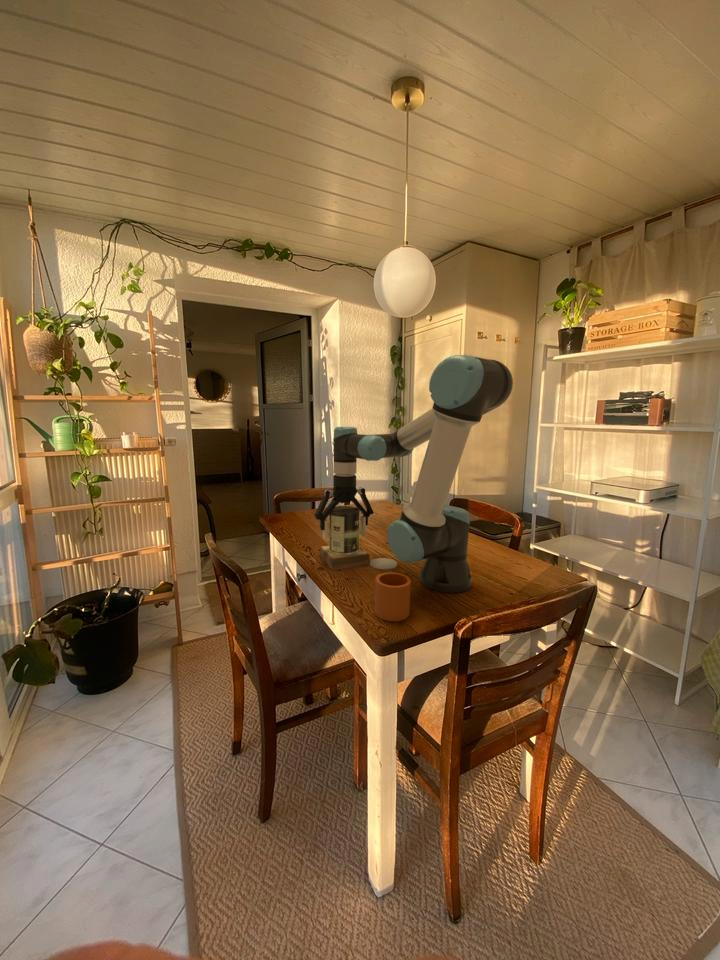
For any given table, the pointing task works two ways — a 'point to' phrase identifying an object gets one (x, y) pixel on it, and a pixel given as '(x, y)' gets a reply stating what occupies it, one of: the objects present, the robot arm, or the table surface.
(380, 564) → the felt coaster
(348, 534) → the coffee can
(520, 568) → the table surface
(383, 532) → the table surface
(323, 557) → the block
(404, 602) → the mug
